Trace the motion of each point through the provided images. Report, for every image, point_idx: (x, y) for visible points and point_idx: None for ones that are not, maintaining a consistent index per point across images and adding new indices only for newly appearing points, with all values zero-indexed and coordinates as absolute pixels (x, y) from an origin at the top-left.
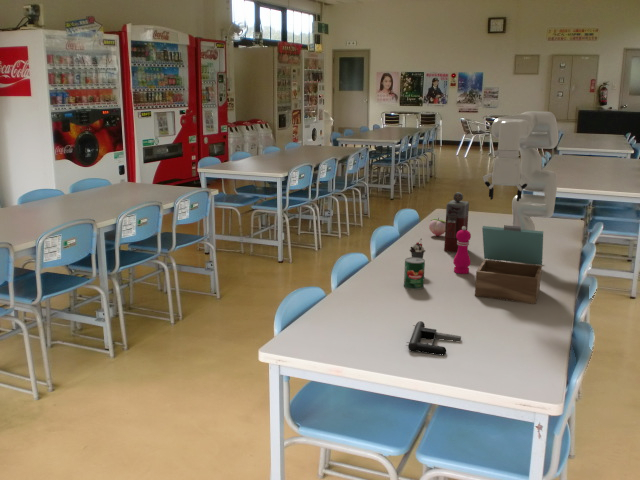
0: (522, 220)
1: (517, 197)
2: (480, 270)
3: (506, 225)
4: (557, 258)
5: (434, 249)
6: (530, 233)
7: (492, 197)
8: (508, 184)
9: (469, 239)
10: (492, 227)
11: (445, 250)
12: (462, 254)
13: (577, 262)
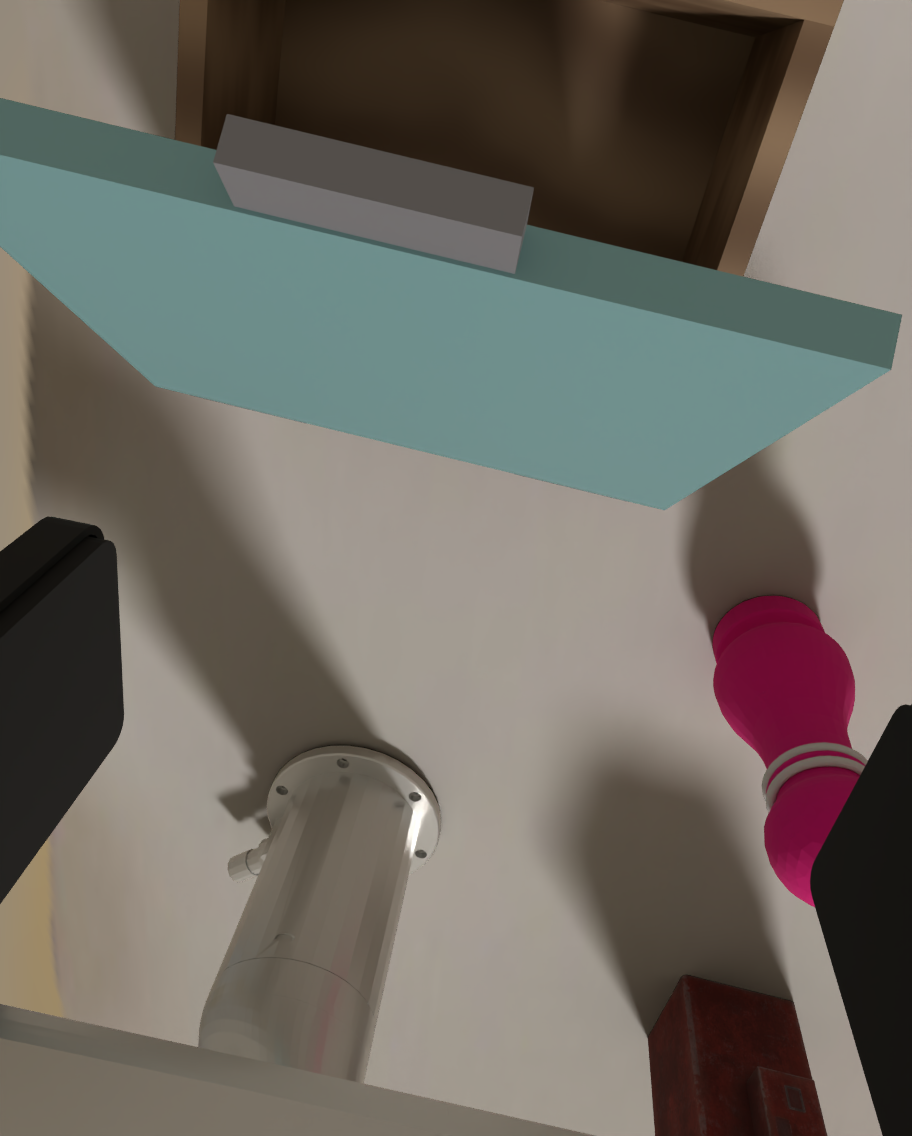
0: (276, 1061)
1: (27, 582)
2: (777, 91)
3: (480, 223)
4: (156, 914)
5: (850, 1026)
6: (91, 130)
7: (906, 767)
8: (157, 1112)
9: (778, 798)
10: (721, 311)
11: (787, 1004)
12: (808, 693)
13: (53, 862)
